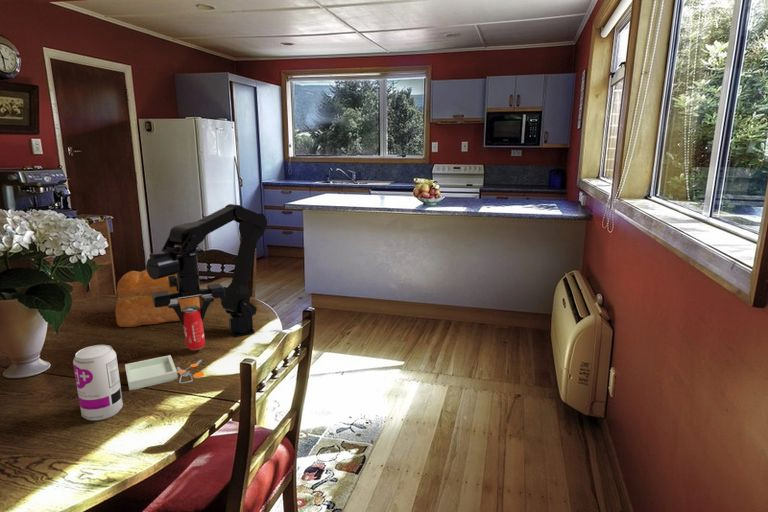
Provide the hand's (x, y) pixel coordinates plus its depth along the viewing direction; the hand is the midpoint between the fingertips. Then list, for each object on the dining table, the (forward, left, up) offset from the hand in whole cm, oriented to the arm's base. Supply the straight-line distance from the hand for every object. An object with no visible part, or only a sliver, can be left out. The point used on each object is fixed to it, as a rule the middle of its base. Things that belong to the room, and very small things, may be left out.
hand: (192, 323), depth 136 cm
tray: (+12, +9, -9) cm, 18 cm away
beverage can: (-1, 0, -8) cm, 8 cm away
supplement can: (+24, +22, -9) cm, 34 cm away
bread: (+5, -35, -10) cm, 37 cm away
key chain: (+3, +12, -10) cm, 15 cm away
